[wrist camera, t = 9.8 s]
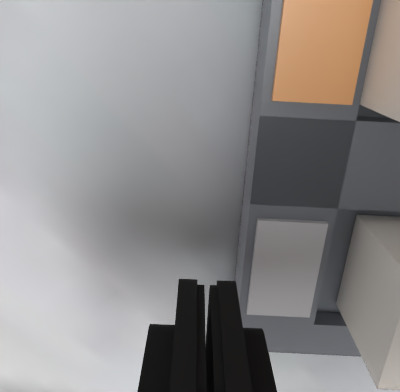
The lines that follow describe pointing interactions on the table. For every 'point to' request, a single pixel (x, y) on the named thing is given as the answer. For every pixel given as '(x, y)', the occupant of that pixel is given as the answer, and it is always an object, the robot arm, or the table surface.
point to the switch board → (310, 171)
